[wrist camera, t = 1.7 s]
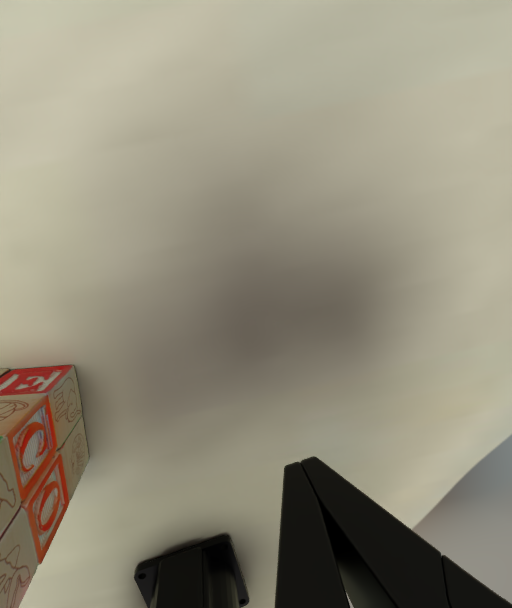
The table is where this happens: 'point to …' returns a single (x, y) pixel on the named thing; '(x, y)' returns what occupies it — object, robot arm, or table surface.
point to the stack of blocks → (36, 467)
